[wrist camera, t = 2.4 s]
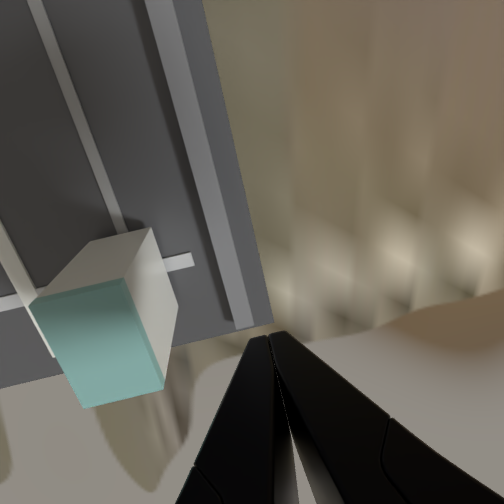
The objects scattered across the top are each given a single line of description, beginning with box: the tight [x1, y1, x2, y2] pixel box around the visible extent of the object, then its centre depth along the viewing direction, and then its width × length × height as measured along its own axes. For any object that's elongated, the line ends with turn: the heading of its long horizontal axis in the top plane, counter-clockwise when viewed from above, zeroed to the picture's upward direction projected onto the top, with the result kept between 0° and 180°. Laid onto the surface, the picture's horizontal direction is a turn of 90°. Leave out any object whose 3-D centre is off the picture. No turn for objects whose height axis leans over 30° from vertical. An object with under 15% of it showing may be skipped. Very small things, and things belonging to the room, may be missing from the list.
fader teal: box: [28, 227, 178, 409], centre depth 12 cm, size 2×4×5 cm, turn 12°
